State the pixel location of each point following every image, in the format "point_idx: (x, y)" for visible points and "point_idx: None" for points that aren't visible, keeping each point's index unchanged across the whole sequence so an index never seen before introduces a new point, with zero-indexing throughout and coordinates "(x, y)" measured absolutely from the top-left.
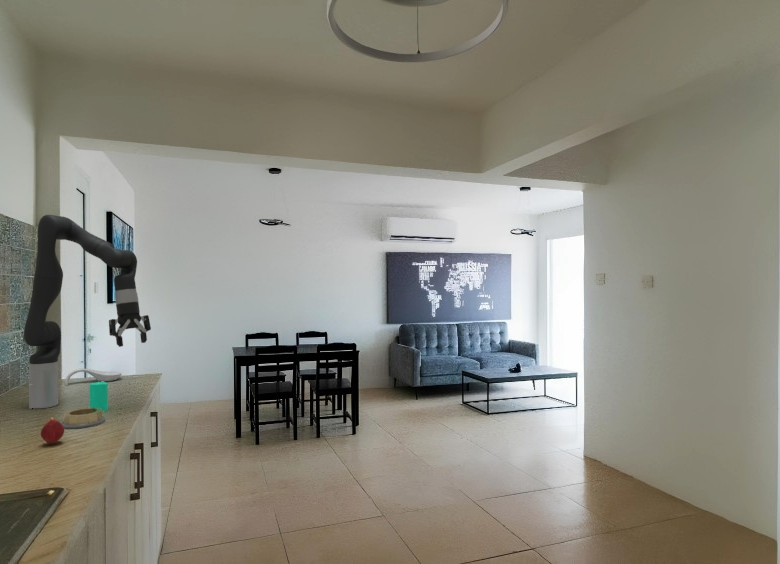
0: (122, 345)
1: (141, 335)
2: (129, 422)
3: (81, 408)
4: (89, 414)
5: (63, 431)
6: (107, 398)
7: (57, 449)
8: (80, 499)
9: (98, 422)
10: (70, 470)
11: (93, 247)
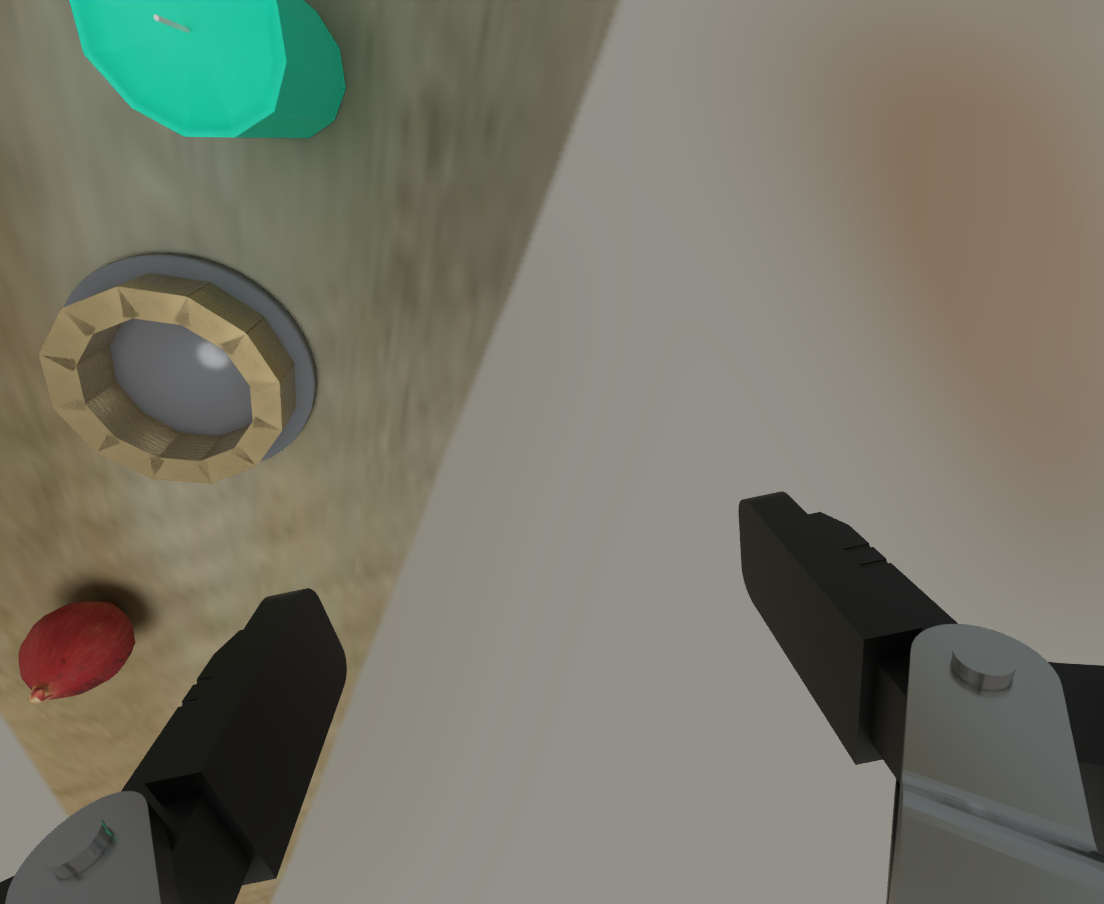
0: (335, 677)
1: (824, 639)
2: (422, 489)
3: (139, 289)
4: (214, 479)
5: (129, 655)
6: (322, 91)
7: (146, 664)
8: (257, 900)
9: (278, 451)
10: None
11: None
